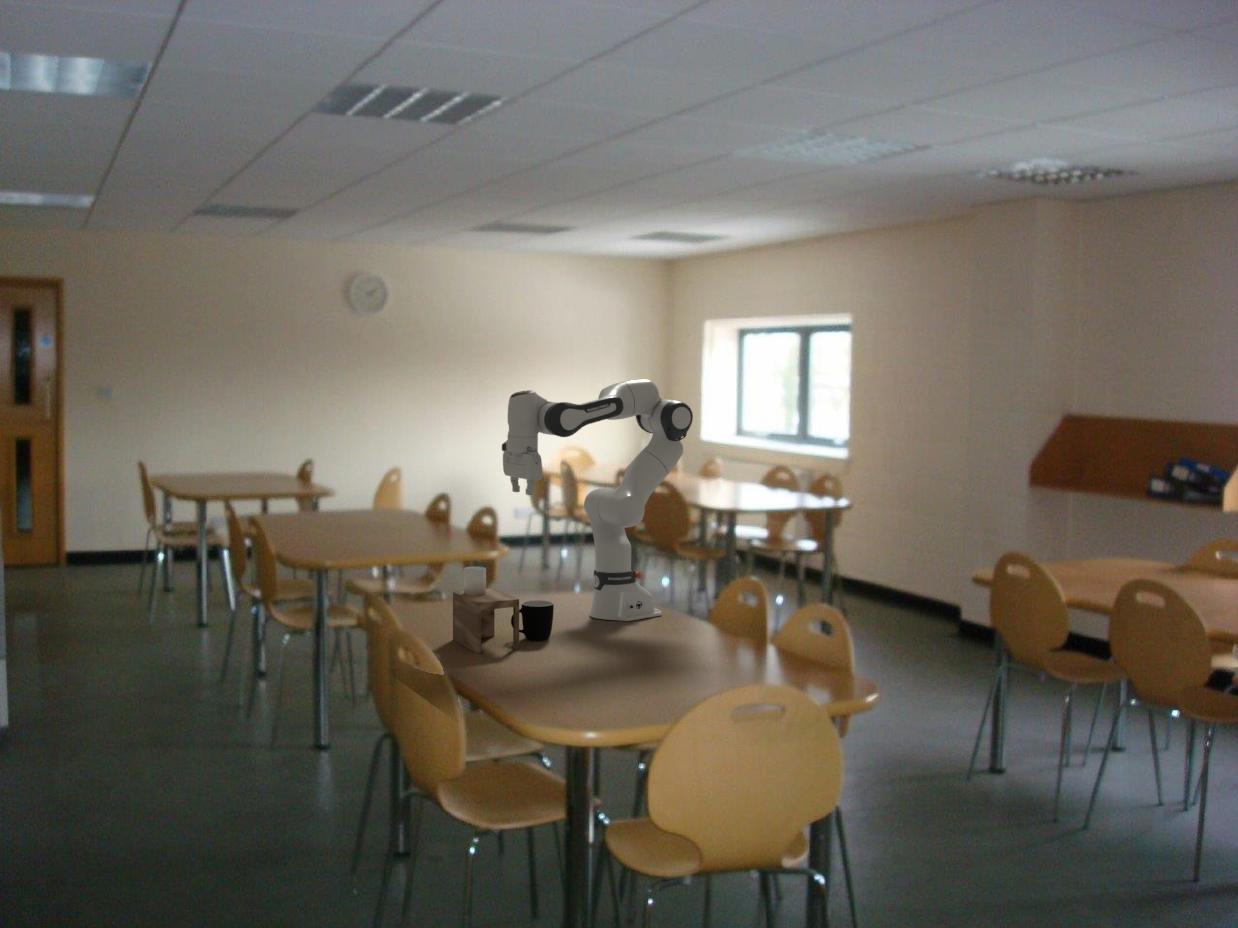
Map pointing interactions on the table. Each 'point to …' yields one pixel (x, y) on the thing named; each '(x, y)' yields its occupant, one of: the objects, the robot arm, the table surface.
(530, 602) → the mug
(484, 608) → the open wooden crate
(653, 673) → the table surface
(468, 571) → the white cylinder
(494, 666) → the table surface
